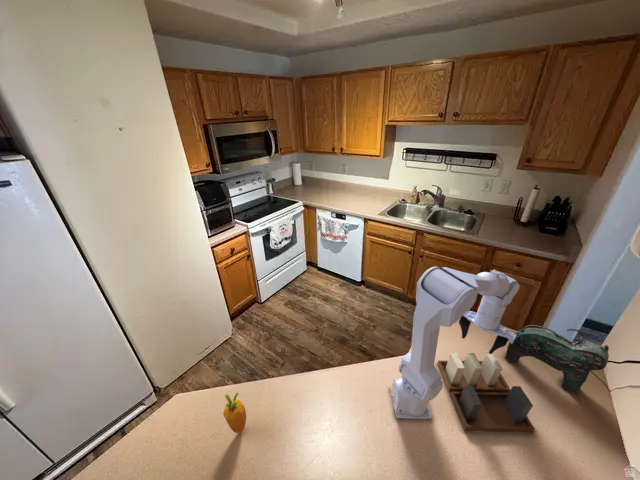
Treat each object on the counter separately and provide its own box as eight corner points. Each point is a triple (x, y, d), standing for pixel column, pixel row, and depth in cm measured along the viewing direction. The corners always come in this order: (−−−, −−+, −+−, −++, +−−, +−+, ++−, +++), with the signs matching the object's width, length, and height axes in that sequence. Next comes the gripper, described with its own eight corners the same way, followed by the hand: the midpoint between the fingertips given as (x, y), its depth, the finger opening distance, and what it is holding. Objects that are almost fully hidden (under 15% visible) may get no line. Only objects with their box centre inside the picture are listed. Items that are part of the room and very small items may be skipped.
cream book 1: (451, 384, 77) (457, 367, 73) (444, 369, 82) (450, 352, 78) (458, 384, 77) (464, 368, 73) (451, 369, 82) (457, 352, 78)
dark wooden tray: (463, 431, 67) (465, 427, 66) (449, 395, 75) (451, 391, 74) (532, 432, 66) (534, 429, 65) (510, 396, 74) (512, 392, 73)
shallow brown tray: (448, 392, 76) (449, 388, 75) (437, 364, 84) (438, 360, 83) (508, 393, 75) (510, 389, 74) (491, 365, 83) (493, 361, 82)
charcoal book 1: (466, 421, 69) (474, 404, 65) (457, 402, 73) (465, 385, 69) (473, 421, 68) (482, 404, 65) (465, 402, 73) (472, 385, 69)
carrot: (230, 425, 69) (218, 392, 62) (249, 417, 71) (239, 385, 64) (231, 445, 65) (219, 413, 58) (251, 437, 67) (241, 404, 60)
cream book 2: (468, 385, 77) (475, 368, 73) (461, 369, 81) (467, 352, 78) (475, 385, 77) (482, 368, 73) (467, 369, 81) (474, 353, 78)
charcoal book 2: (514, 422, 68) (525, 405, 64) (502, 403, 72) (512, 386, 69) (521, 422, 68) (533, 405, 64) (510, 403, 72) (520, 386, 68)
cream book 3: (487, 385, 77) (495, 368, 73) (478, 370, 81) (486, 353, 77) (494, 385, 77) (502, 368, 73) (485, 370, 81) (493, 353, 77)
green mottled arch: (582, 385, 77) (619, 339, 67) (583, 403, 72) (622, 356, 63) (504, 348, 88) (526, 305, 78) (500, 361, 84) (522, 317, 74)
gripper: (525, 317, 70) (508, 350, 76) (468, 292, 79) (458, 323, 86) (518, 331, 65) (501, 365, 72) (459, 303, 75) (449, 335, 81)
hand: (477, 343), depth 79 cm, fingers open, 7 cm apart
